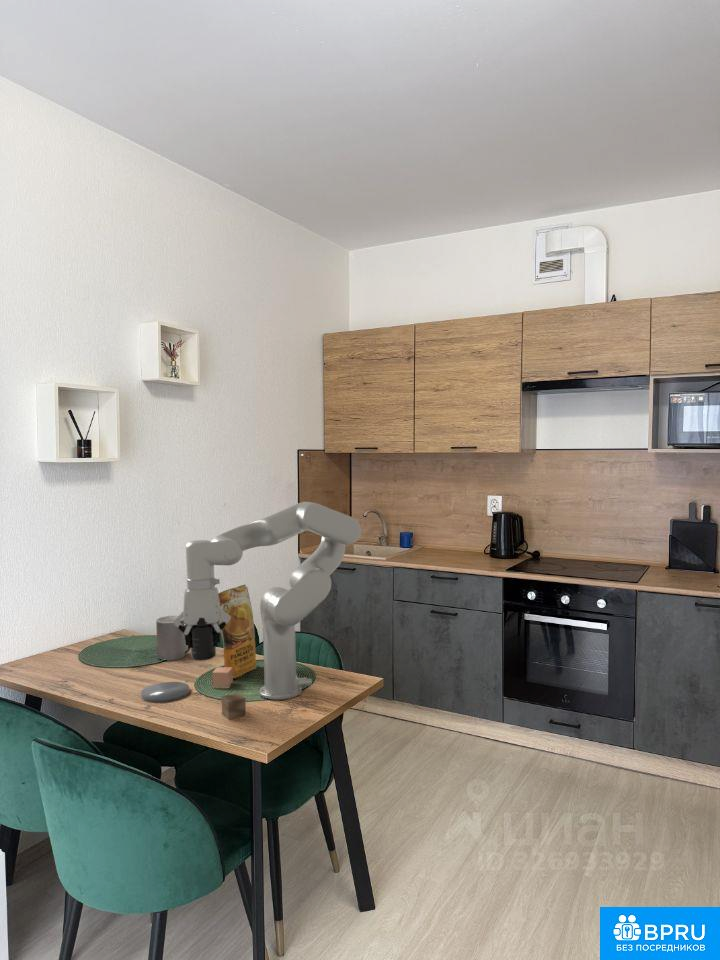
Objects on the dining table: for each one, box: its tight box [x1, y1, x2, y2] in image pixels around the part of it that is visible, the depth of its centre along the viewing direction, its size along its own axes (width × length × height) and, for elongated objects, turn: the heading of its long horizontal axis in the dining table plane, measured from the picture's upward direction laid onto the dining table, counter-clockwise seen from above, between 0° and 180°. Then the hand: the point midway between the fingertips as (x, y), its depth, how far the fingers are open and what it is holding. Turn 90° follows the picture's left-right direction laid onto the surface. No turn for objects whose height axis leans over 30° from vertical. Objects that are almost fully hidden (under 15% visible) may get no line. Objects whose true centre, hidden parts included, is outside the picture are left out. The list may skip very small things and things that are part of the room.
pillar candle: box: [155, 615, 186, 662], centre depth 242 cm, size 10×10×15 cm
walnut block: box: [221, 692, 247, 721], centre depth 188 cm, size 5×5×5 cm
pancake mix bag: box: [218, 584, 257, 679], centre depth 223 cm, size 7×19×28 cm, turn 151°
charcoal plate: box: [140, 681, 190, 703], centre depth 205 cm, size 14×14×1 cm
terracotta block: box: [211, 666, 234, 688], centre depth 212 cm, size 5×5×5 cm
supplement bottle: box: [190, 618, 217, 661], centre depth 193 cm, size 7×7×12 cm
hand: (203, 645), depth 194 cm, fingers closed on supplement bottle, 6 cm apart
